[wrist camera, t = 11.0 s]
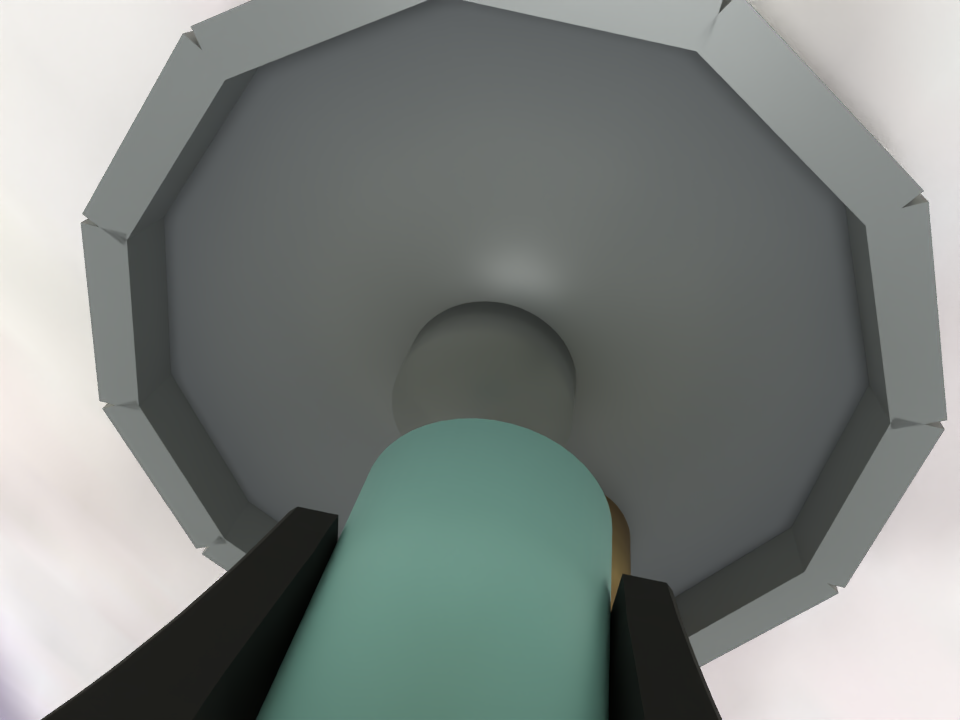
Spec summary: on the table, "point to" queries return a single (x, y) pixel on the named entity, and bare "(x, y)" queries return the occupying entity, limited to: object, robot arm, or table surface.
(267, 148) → the ring tray
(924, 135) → the table surface
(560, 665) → the teal cylinder
